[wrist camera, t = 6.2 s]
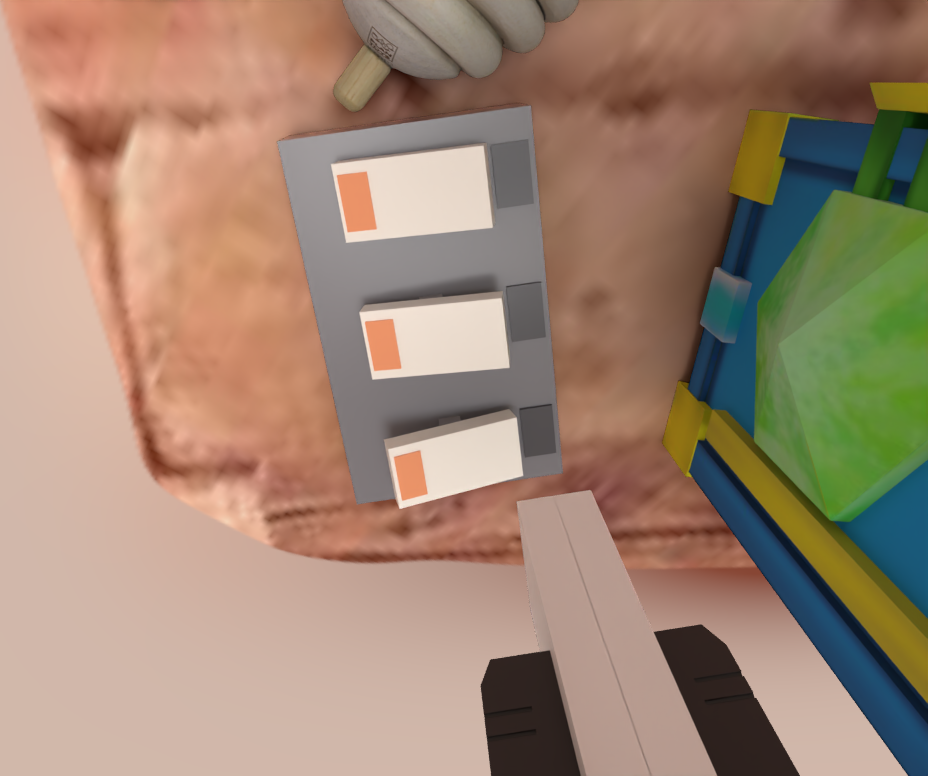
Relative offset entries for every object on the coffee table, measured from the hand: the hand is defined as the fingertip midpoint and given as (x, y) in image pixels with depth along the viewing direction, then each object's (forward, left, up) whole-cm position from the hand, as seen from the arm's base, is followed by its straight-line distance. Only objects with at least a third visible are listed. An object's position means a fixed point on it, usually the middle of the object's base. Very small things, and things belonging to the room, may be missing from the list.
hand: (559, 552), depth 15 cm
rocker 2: (+2, +3, -22) cm, 23 cm away
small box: (+2, +10, -22) cm, 24 cm away
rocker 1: (+2, -4, -22) cm, 23 cm away
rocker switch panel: (+2, +3, -28) cm, 28 cm away
